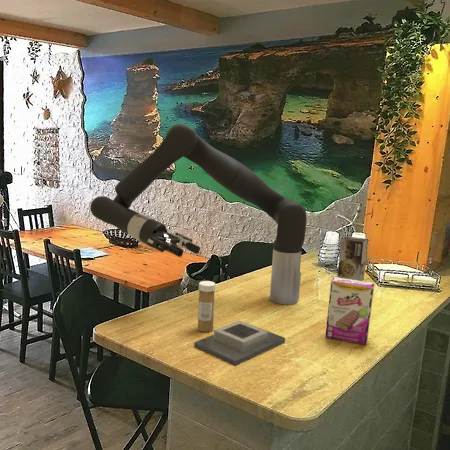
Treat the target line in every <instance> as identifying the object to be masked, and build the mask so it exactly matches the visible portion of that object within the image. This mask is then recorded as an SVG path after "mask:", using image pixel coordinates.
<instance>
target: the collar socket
mask: <svg viewBox="0 0 450 450" xmlns="http://www.w3.org/2000/svg"><path fill="white" fill-rule="evenodd" d="M284 343H286V337H284V336H281V335H278V334H276V333H273V332H272V331H268V330H265V329H263V328H261V327H257V326H256V325H253V324H250V323H247V322H245V321H242V320H237V321H234V322H232V323H229V324H226V325H224V326H221V327H219V328H215V329H213V334H211V335H209V336H206V337H204V338H202V339H198V340H196V341H194V342H193V346H194V347H195V348H196V349H199V350H201V351H202V352H205V353H207V354H209V355H212V356H214V357H216V358H218V359H220V360H222V361H224V362H226V363H228V364H231V365H233V366H238V365H240V364H242V363H244V362H246V361H249V360H251V359H253V358H255V357H257V356H258V355H259V356H260V355H262V354H263V353H266V352H267V351H270V350H271V349H275V347H278V346H280V345H282V344H284Z"/></svg>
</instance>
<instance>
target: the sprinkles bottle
mask: <svg viewBox="0 0 450 450" xmlns="http://www.w3.org/2000/svg"><path fill="white" fill-rule="evenodd" d="M215 291H216V283H215V282H214V281H210V280H202V281H200V282H199V283H198V304H197V305H198V307H197V309H198V311H197V326H196V327H197V328H196V329H197V330H198V331H200V332H202V333H205V332H206V333H207V332H208V333H210V332H212V331H214V318H215Z"/></svg>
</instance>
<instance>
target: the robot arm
mask: <svg viewBox="0 0 450 450" xmlns="http://www.w3.org/2000/svg"><path fill="white" fill-rule="evenodd" d="M165 135H166V136H165V137H164V139H163V140H162V141H161V143H160V144H159V145H158V146H157V148H156V149H155V150H154V151H153V152H152V153H151V154H149V156H147V157H146V158H145V159H143V161H142V162H140V163H139V164H138V165H137V166H136V167H133V169H132V170H131V171H130V172H128V173H127V175H125V176H124V177H123V178H122V179H121V180H120V181H119V182H118V183H117V184H116V185H115V188H114V192H115V193H116V196H115V197H114V199H111V198H110V197H107V196H104V195H101V196H98V197H95V198H94V199H93V200H92V201H91V203H90V212H91V214H92V215H93V216H94V217H95V218H96V219H98V220H99V221H102V222H104V223H106V224H107V225H112V226H114V227H116V228H117V230H119V231H121V232H123V233H125V234H127V235H129V236H131V237H132V238H134V239H135V240H137V241H138V242H141V243H143V244H144V245H147V246H149V247H150V248H153V249H155V250H157V251H159V252H160V253H164V252H166V253H170V254H172V255H175V256H177V257H179V258H181V257H183V255H184V254H183V253H184V249H185V250H186V251H190V252H191V253H193V254H195V255H198V254H199V253H200V250H201V247H200V246H199V245H197V244H195V243H194V242H193V239H192V238H189V237H187V236H185V235H183V234H181V233H178V232H175V233H172V232H168V229H167V226H166V225H165V224H164V223H162V222H160V221H158V220H156V219H153V218H152V217H150V216H147V215H145V214H141V212H140V213H139V212H137V211H136V210H133V209H130V207H131V206H132V203H134V202H135V200H136V199H137V198H138V197H140V196H141V194H143V193H144V192H145V191H146V190H147V189H148V188H149V187H150V186H151V184H153V183H154V182H155V181H156V179H158V177H159V176H161V174H162V173H164V172H165V171H166V170H168V168H169V167H170V166H172V165H173V164H174V163H176V162H178V161H179V160H181V159H182V158H183V157H184V158H185V159H187V160H188V161H190V162H192V163H194V164H196V165H197V166H198V167H199V168H201V169H202V170H204V172H205V173H206V174H208V176H209V177H211V178H212V179H213V180H214V181H215V182H217V183H218V184H219V185H220V186H221V187H222V188H224V189H226V190H227V191H229V192H230V193H231V194H233V195H235V196H236V197H238V198H240V199H242V200H243V201H246V202H248V203H250V204H251V205H254V206H256V207H258V208H259V209H260V210H261V211H263V212H264V213H265V214H266V215H268V216H269V217H270V218H271V219H272V220H273V221H274V222H275V223H277V229H276V237H275V239H274V241H273V246H272V247H273V249H272V262H271V275H270V276H271V277H270V290H269V291H270V292H269V300H270V301H271V302H273V303H274V304H279V305H294V304H297V303H298V300H300V291H301V290H300V289H301V280H302V279H301V276H302V272H301V264H302V260H301V259H302V250H303V245H304V242H305V239H306V238H305V236H306V228H307V221H308V220H307V217H308V216H307V211H306V209H305V207H303V206H302V205H301V204H300V203H298V202H297V201H295V200H293V199H290V198H288V197H286V196H284V195H283V194H281V193H279V192H277V191H276V190H274V189H272V187H270V186H268V185H267V184H266V182H264V180H263V179H261V177H260V176H258V175H257V173H255V172H254V171H252V170H251V169H250V168H249V167H247V166H246V165H244V164H242V163H241V162H240V161H238V160H237V159H236V158H233V157H231V156H230V155H228V154H226V153H224V152H222V151H220V150H218V149H216V148H215V147H213V146H212V145H210V144H209V143H208V142H207V141H205V140H204V139H203V138H201V136H199V135H198V134H197V133H196V131H195V130H194V129H193V128H192V127H190V126H189V125H187V124H183V123H178V124H174V125H173V126H172V127H170V128H169V129H168V130H167V132H166V134H165Z"/></svg>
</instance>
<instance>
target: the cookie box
mask: <svg viewBox="0 0 450 450" xmlns="http://www.w3.org/2000/svg"><path fill="white" fill-rule="evenodd" d="M368 241H369V239H367V238H361V237H354V236H348V235H345V236H343V237H341V238H340V242H339V243H340V247H339V256H338V258H339V259H338V269H337V277H339V278H345V279H352V280H358V281H364V280H365V274H366V273H365V272H366V271H365V270H366V261H367V252H368V243H369V242H368Z"/></svg>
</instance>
